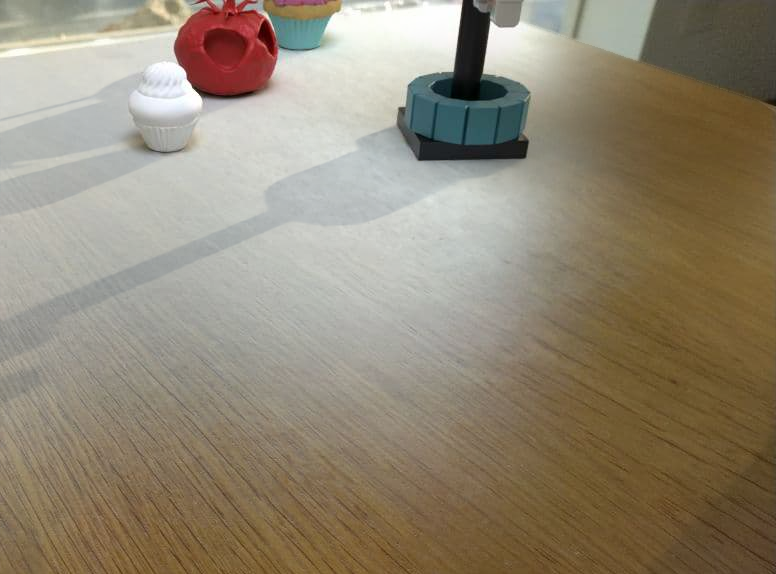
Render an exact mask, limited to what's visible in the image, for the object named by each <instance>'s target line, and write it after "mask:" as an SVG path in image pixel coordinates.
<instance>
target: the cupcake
mask: <svg viewBox="0 0 776 574" xmlns="http://www.w3.org/2000/svg"><path fill="white" fill-rule="evenodd" d="M342 1H343V0H263V2H262V10H263V11H264V12H265V13H266V14H267V17H268V18H269V21H270V23H271V26H272V28H273V30H274V33H275V35H276V39H277V46H278V47H282V48H284V49H289V50H296V51H297V50H301V51H302V50H303V51H304V50H311V49H316V48H317V47H319V46H320V45H321V44H322V40H323V37H324V34H325V32H326V29H327V26H328V24H329V21H331V18H332V16H333V15H335V14H336V13H339V12H340V11H341V9H342V5H343V4H342V3H343V2H342Z"/></svg>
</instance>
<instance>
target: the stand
mask: <svg viewBox="0 0 776 574" xmlns="http://www.w3.org/2000/svg"><path fill="white" fill-rule="evenodd" d="M490 13H491V12H487V13H482V12H480V11H479V10H478V9H477V8H475V7H474V5H473V0H462V2H461V11H460V16H459V17H460V19H459V26H458V33H457V41H456V49H455V56H454V64H453V71H452V72H453V78H452V86H451V94H450V98H451V99H458V100H465V101H479V97H480V90H481V83H482V77H483V74H484V69H485V63H486V57H487V55H486V54H487V48H488V43H489V35H490V27H491V23H492V21H491V19H490ZM405 107H406V106H398V108H397V116H396V117H397V118H396V124H397V126H398V128H399V129H400V131H401V133H402V134H403V136H404V138H405V140H406V141H407V143H408V145H409V146H410V149H411V150H412V151H413V153H414V155H415V157H416V159H417V160H418V161H439V160H441V161H443V160H444V161H445V160H486V159H487V160H491V159H493V160H494V159H526V158H527V154H528V151H529V150H528V149H529V144H530V140H529V138H527V136H526V135H525V134H524V133H523V132H522V133H521V135H520V136H519V137H517V138H516V139H513V140H510V141H506V142H502V143H498V144H495V143H493V144H489V145H465V144H464V143H462V144H455V143H449V142H443V141H437V140H434V138H431V139H429V138H427V137H425V136H422V135H420V134H418V133H415V132H413V131H412V130H410V129H409V128H408V126H407V124H406V123H405V121H404V117H405Z"/></svg>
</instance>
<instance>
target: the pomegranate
mask: <svg viewBox="0 0 776 574" xmlns="http://www.w3.org/2000/svg"><path fill="white" fill-rule="evenodd" d="M205 2H206V4H207V5H208V6H203V7H202V8H201V9H199V11H197V12H195V13H193V14H192V15H190V17H188V18H187V20H186V21H185V23H184V24H183V25H181V26H180V28H179V29H178V33H177V36H176V38H175V40H174V44H173V52H174V56H175V58H176V61H177V65H179V66H181V67H182V68H183V69H184V71H185V72H186V79H187V81H188V82H189V83H190V84H191V86H193V87H194V88H196V89H198V90H200V91H203V92H204V93H208V94H213V95H217V96H236V95H241V94H244V93H249V92H255V91H259V90H260V89H262V88H264V87H265V86H266V85H267V84H268V82H269V81H270V79H271V78H272V76H273V74H274V71H275V69H276V65H277V62H278V57H279V45H278V43H277V39H276V35H275V31H274V28H273V25H272V23H271V20H270V19H268V18H267V17H266V16H265V15H264V14H262V13H259V12H258V10H257V9H248V10H244V8H245V7H246V6H247V5H250V4H251V5H252V4H253V5H255V4H257V3H258V2H259V0H243V1H241V3H239V4H236V0H222V3H223V5H222V7H221V8H220V7H218V6H217V5H216V4H215V3H213V2H212V1H211V0H198V1H196V2H194V3H189V5H190V6H194V5H198V4H201V3H205Z"/></svg>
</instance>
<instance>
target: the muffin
mask: <svg viewBox="0 0 776 574" xmlns="http://www.w3.org/2000/svg"><path fill="white" fill-rule="evenodd" d="M192 86H193V85H192V84H191V83H190V82H189V81H188V80H187V79H186V72H185V71H184V69H183V68H182V67H181V66H179V64H178V63H175V62H171V61H170V62H169V61H168V62H167V61H165V60H163V61H160V62H155V63H151V64H150V65H149V66H147V67H146V68H145V69H144V71H143V74H142V80H141V82H140V83H139V85H138V86H137V89H135V90H134V91H133V92H132V93H131V94H130V96H129V98H128V102H127V106H128V111H129V113H130V115H131V116H132V121H133V123H134V124H135V126H136V128H137V130H138V132H139V133H140V135H141V137H142V138H143V140H144V142H145V144H146V146H147V148H148V149H150V150H153V151H155V152H160V153H162V152H164V153H166V152H167V153H170V152H172V153H173V152H176V151H177V152H178V151H181V150H183V149H184V148H186V147H187V145H188V143H189V141H190V139H191V137H192V135H193V133H194V130H195V128H196V126H197V125H198V122H199V121H200V115H201V113H202V112H201V111H202V109H203V99H202V97H201V96H200V94H199V93H198V92H197V91H196V90H195V89H194V88H193V87H192Z"/></svg>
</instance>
